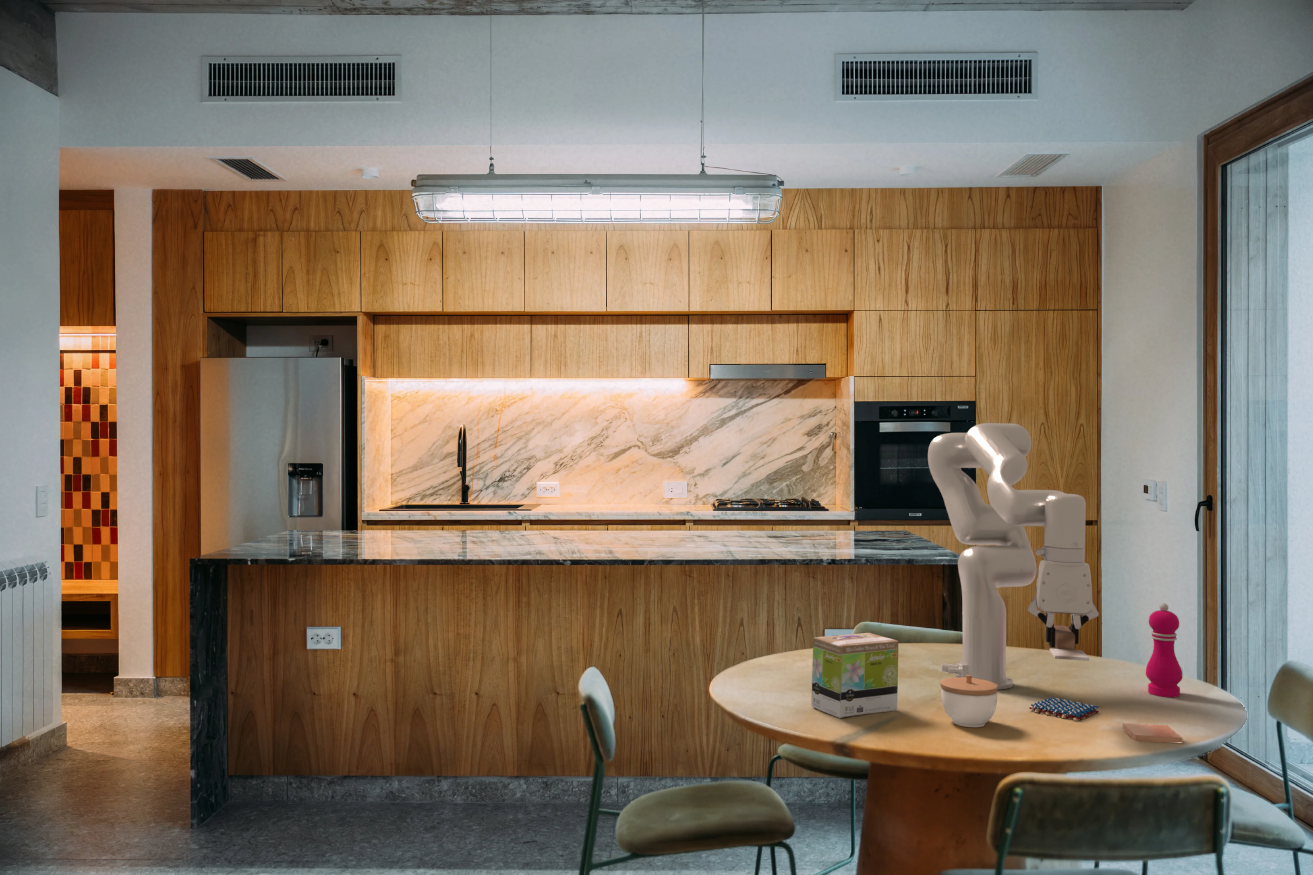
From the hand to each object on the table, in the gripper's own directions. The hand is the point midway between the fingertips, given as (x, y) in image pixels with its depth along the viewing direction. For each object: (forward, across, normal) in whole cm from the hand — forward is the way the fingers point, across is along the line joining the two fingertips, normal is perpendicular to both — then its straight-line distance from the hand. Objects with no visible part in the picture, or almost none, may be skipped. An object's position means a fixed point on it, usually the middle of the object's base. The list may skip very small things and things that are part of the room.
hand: (1061, 645), depth 191 cm
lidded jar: (+15, -18, -9) cm, 25 cm away
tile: (+14, +14, -5) cm, 21 cm away
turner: (0, 0, -3) cm, 3 cm away
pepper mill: (+15, +26, +26) cm, 40 cm away
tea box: (+15, -40, -4) cm, 43 cm away
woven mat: (+15, +2, +5) cm, 16 cm away
